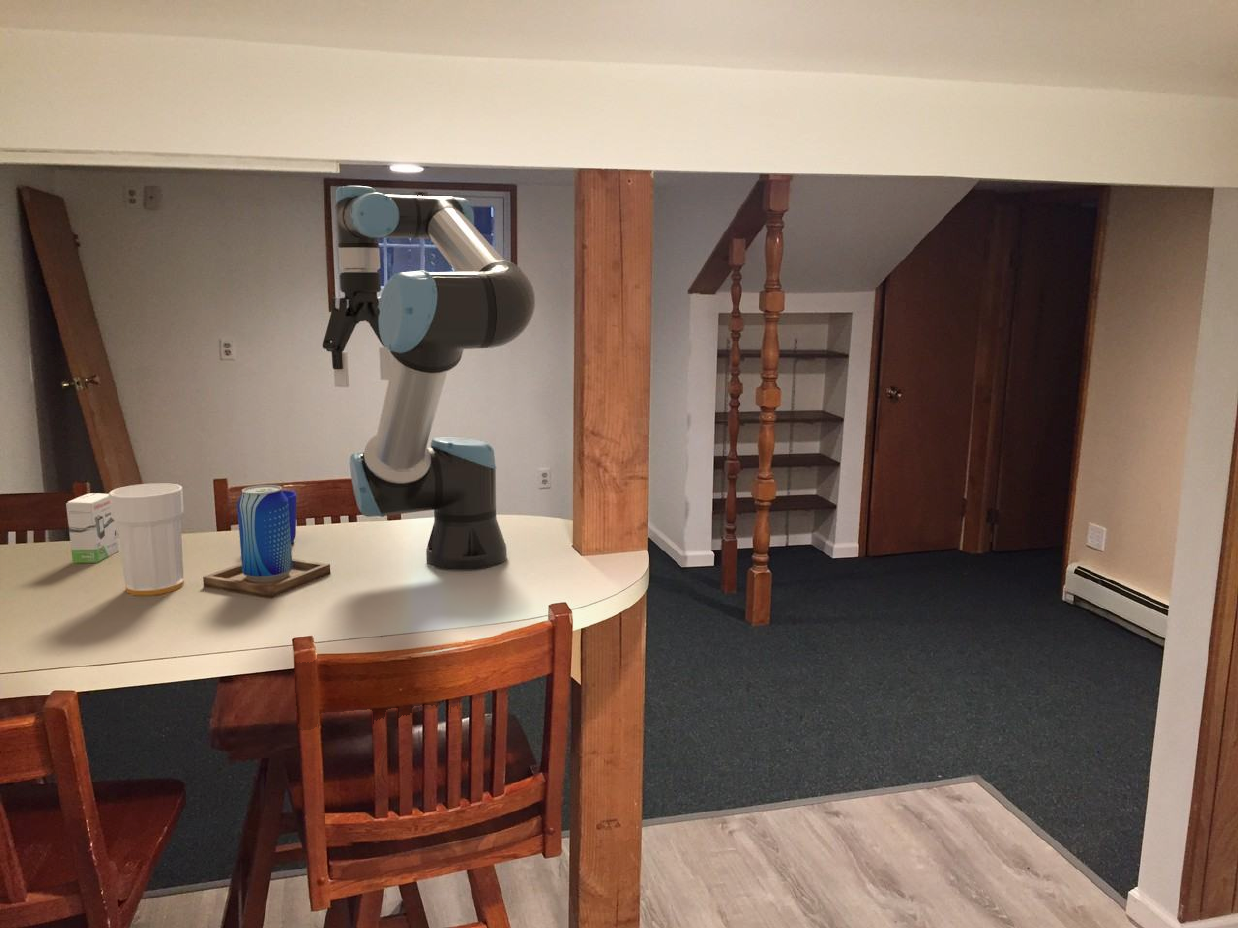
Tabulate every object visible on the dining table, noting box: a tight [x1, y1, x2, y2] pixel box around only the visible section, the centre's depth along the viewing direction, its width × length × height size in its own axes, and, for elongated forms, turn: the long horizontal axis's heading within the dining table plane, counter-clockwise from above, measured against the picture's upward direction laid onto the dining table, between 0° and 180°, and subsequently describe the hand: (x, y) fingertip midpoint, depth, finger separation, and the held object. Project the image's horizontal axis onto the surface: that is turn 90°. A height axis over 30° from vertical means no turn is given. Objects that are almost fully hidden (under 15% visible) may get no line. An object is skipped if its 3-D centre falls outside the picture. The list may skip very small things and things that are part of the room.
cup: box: [108, 482, 185, 597], centre depth 168 cm, size 11×11×17 cm
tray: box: [202, 558, 331, 599], centre depth 173 cm, size 15×15×2 cm
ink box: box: [65, 492, 120, 564], centre depth 187 cm, size 9×5×12 cm, turn 0°
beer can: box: [236, 484, 293, 583], centre depth 172 cm, size 8×8×16 cm
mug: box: [281, 490, 297, 543], centre depth 199 cm, size 8×12×10 cm
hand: (365, 383), depth 189 cm, fingers open, 13 cm apart
